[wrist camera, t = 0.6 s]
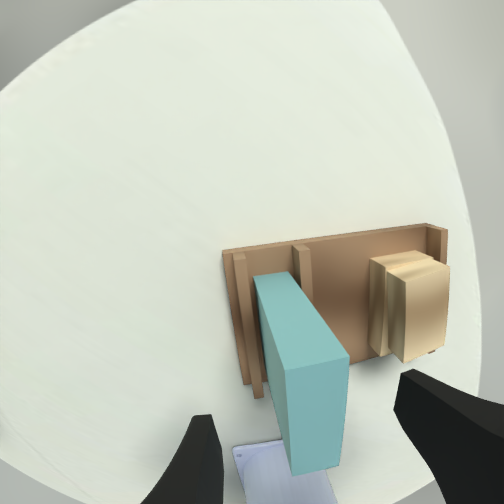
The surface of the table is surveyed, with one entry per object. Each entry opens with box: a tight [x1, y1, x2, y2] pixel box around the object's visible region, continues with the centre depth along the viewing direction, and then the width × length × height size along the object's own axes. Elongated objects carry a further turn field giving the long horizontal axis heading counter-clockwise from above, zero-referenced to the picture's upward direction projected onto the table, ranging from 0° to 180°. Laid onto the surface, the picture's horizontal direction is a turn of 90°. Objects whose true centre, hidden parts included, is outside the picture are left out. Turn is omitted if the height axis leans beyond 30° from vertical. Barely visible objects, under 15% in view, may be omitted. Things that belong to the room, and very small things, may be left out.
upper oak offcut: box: [387, 258, 450, 364], centre depth 15 cm, size 5×3×2 cm, turn 12°
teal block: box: [253, 271, 350, 477], centre depth 13 cm, size 6×2×9 cm, turn 7°
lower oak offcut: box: [367, 250, 433, 357], centre depth 17 cm, size 6×4×2 cm, turn 7°
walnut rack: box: [223, 223, 448, 399], centre depth 18 cm, size 9×14×3 cm, turn 97°
